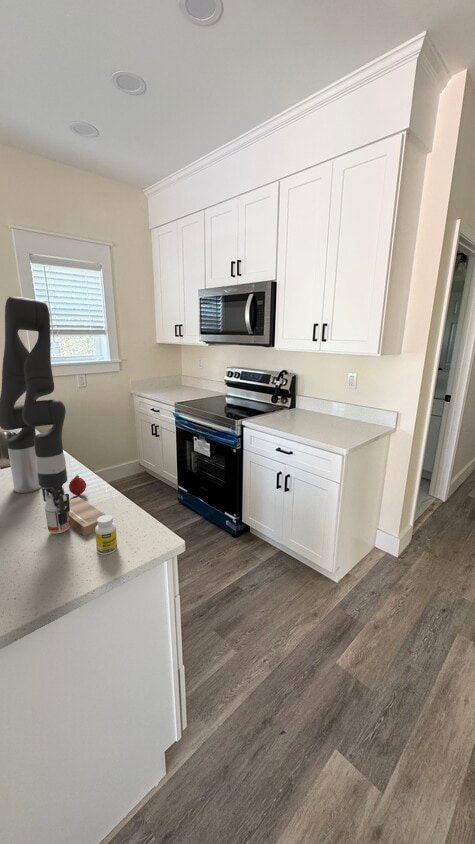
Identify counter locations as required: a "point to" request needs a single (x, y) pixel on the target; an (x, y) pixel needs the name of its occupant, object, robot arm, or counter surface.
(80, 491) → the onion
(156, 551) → the counter surface
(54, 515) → the pill bottle
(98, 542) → the supplement bottle
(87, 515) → the brown banded box
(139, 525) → the counter surface
